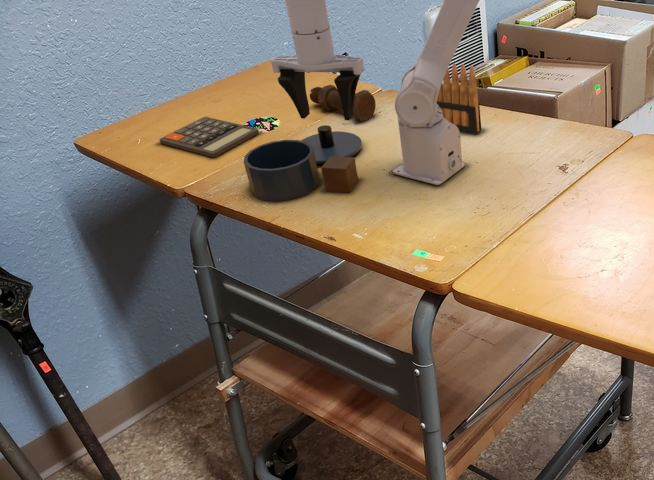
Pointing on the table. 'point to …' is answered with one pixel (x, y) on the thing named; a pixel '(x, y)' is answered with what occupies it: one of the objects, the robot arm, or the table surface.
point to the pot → (281, 170)
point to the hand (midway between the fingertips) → (327, 117)
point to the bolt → (331, 101)
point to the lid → (333, 144)
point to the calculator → (209, 136)
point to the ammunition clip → (460, 100)
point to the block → (339, 174)
